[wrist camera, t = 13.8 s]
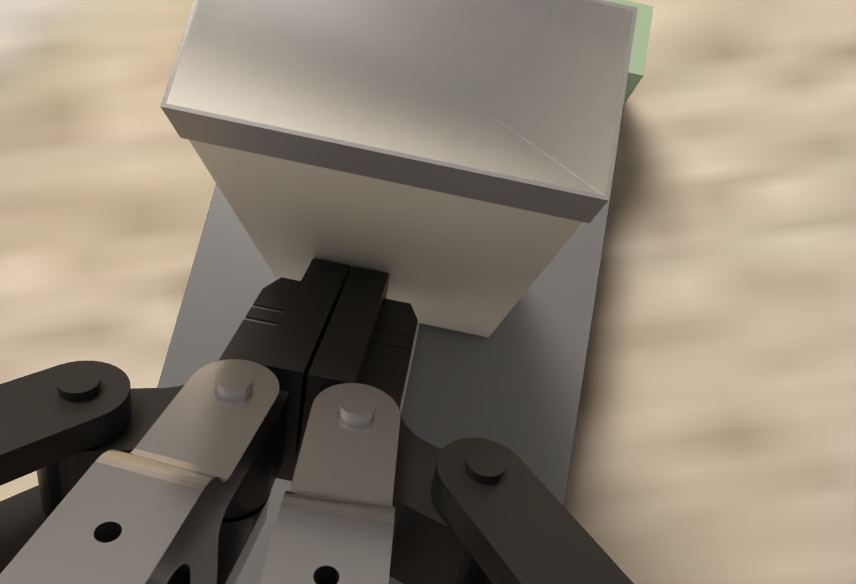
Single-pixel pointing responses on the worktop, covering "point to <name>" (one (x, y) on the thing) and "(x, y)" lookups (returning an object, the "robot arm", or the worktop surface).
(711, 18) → the worktop surface
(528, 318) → the plate
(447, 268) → the handle
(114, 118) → the worktop surface
